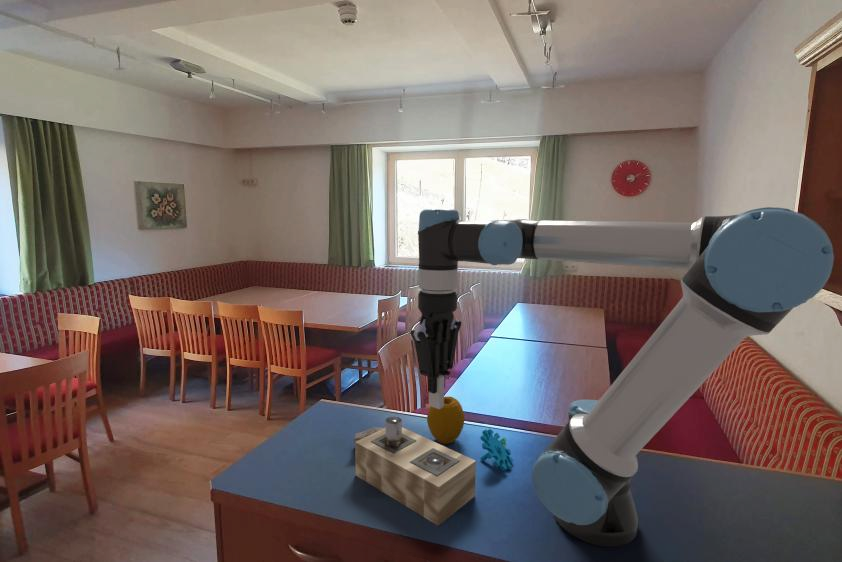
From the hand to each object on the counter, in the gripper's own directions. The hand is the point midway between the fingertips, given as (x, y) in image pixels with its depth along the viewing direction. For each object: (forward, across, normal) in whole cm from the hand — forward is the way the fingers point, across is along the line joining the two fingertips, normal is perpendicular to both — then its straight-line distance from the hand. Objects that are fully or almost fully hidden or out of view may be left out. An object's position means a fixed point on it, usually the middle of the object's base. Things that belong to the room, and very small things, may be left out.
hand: (436, 406), depth 89 cm
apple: (+20, -20, -13) cm, 31 cm away
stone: (+20, -4, -23) cm, 31 cm away
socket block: (+20, 0, -6) cm, 21 cm away
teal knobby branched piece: (+20, -20, +2) cm, 29 cm away
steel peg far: (+15, 0, -12) cm, 19 cm away
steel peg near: (+20, 0, 0) cm, 20 cm away
